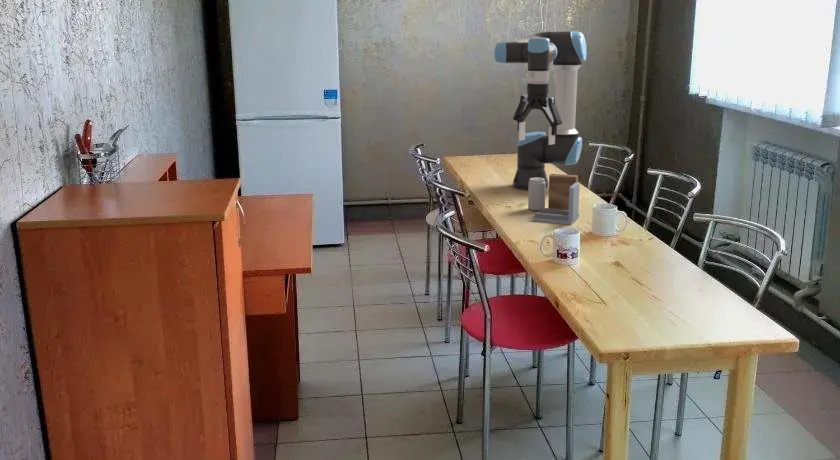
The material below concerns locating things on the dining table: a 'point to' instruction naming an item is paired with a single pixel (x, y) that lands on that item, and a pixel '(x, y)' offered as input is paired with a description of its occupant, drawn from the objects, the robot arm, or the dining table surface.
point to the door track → (558, 214)
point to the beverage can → (536, 194)
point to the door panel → (560, 190)
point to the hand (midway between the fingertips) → (536, 142)
